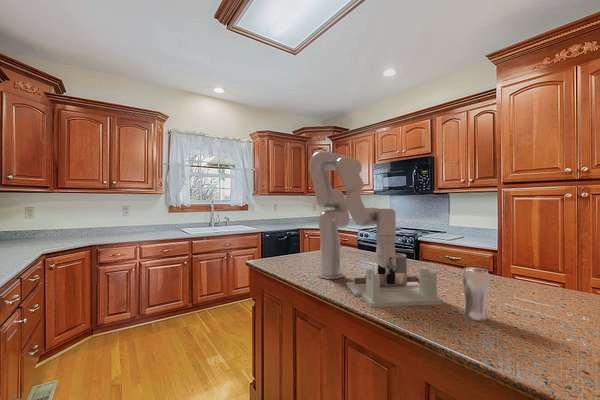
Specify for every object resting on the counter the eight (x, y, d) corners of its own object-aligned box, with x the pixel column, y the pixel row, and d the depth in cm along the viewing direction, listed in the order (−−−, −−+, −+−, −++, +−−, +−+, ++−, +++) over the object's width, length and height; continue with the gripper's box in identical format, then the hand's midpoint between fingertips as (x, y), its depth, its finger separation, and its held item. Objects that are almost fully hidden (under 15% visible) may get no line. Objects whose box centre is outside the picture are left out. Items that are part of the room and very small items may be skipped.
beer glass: (493, 323, 83) (493, 273, 82) (467, 321, 84) (467, 272, 84) (482, 313, 90) (483, 267, 89) (459, 311, 91) (459, 266, 91)
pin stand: (361, 296, 105) (361, 268, 105) (426, 294, 107) (426, 266, 107) (370, 307, 95) (370, 276, 95) (442, 304, 97) (442, 273, 97)
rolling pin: (356, 289, 112) (357, 280, 110) (352, 281, 116) (354, 272, 114) (417, 287, 114) (419, 278, 112) (412, 279, 118) (414, 270, 116)
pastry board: (346, 284, 119) (346, 282, 119) (412, 282, 122) (412, 279, 122) (355, 295, 106) (355, 292, 106) (429, 292, 109) (429, 289, 109)
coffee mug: (410, 275, 132) (410, 254, 132) (400, 280, 126) (399, 258, 126) (385, 270, 142) (385, 250, 142) (374, 274, 136) (374, 253, 136)
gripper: (369, 235, 122) (370, 274, 122) (385, 242, 105) (385, 287, 105) (386, 235, 123) (386, 274, 123) (404, 241, 106) (404, 286, 106)
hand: (386, 280), depth 114 cm, fingers open, 9 cm apart
